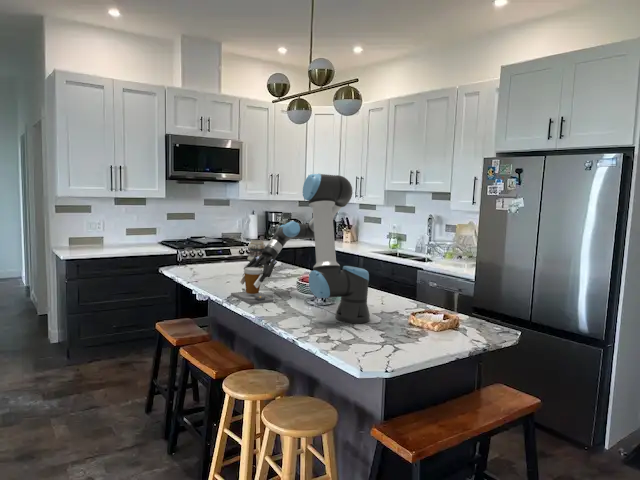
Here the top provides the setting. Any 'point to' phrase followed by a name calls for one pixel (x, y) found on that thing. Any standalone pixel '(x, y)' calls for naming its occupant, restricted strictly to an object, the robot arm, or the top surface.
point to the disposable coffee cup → (252, 279)
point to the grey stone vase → (255, 249)
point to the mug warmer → (252, 298)
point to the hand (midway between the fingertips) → (248, 284)
